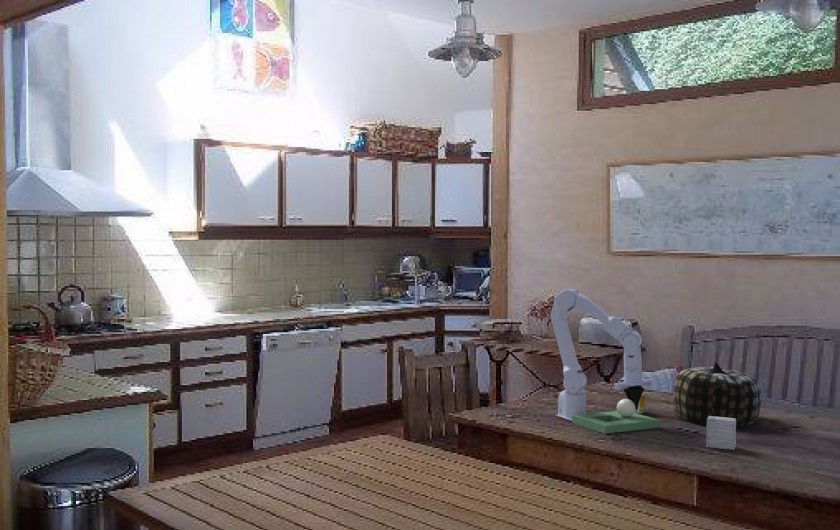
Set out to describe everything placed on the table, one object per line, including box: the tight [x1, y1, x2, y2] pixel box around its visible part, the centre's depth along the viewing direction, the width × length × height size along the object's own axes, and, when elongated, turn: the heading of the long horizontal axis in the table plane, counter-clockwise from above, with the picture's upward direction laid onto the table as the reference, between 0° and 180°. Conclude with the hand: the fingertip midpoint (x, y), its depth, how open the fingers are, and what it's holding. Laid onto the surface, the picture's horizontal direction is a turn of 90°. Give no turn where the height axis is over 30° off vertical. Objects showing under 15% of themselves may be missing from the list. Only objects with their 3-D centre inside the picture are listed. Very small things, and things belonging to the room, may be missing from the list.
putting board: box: [571, 410, 660, 435], centre depth 279 cm, size 17×22×2 cm
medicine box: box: [705, 416, 737, 451], centre depth 252 cm, size 8×4×9 cm, turn 65°
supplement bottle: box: [633, 385, 646, 414], centre depth 301 cm, size 5×5×10 cm
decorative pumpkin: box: [673, 360, 762, 427], centre depth 292 cm, size 30×29×20 cm
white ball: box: [616, 398, 635, 417], centre depth 281 cm, size 6×6×6 cm
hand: (634, 409), depth 282 cm, fingers closed, pressing on white ball
